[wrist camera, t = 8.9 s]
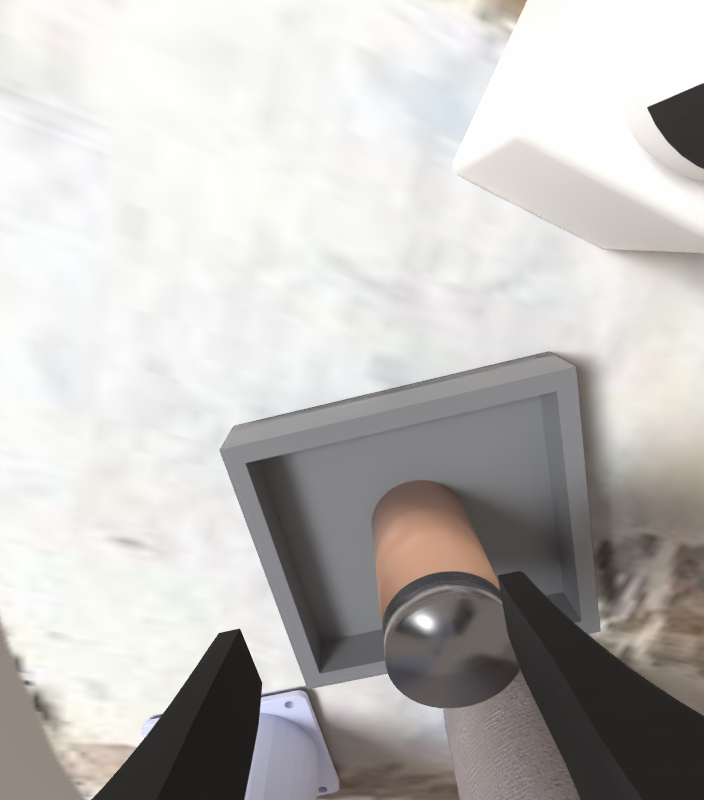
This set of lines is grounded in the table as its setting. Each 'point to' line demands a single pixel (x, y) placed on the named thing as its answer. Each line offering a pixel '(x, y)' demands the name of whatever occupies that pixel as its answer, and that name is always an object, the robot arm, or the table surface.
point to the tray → (408, 461)
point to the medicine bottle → (599, 122)
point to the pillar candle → (506, 749)
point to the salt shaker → (438, 600)
